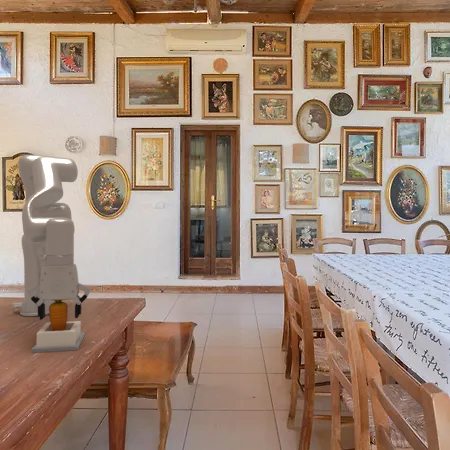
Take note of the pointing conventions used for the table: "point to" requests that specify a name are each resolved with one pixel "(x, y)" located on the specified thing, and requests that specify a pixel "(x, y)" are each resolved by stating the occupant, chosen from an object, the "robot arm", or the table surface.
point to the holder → (59, 338)
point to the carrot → (58, 315)
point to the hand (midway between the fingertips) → (59, 317)
